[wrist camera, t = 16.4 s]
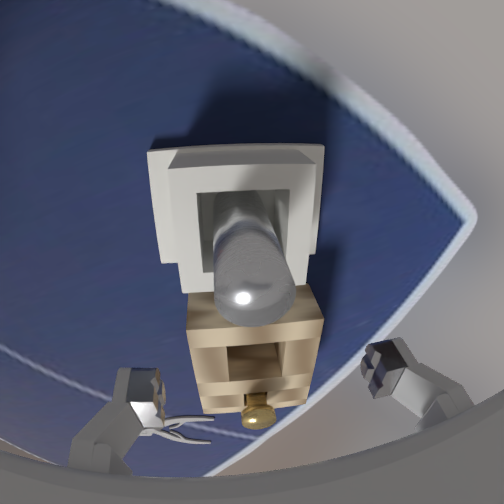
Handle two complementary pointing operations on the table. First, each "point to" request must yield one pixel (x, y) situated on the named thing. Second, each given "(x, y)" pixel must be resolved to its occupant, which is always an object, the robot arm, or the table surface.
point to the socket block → (253, 354)
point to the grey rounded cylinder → (248, 262)
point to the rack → (234, 179)
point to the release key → (257, 412)
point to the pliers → (180, 420)
